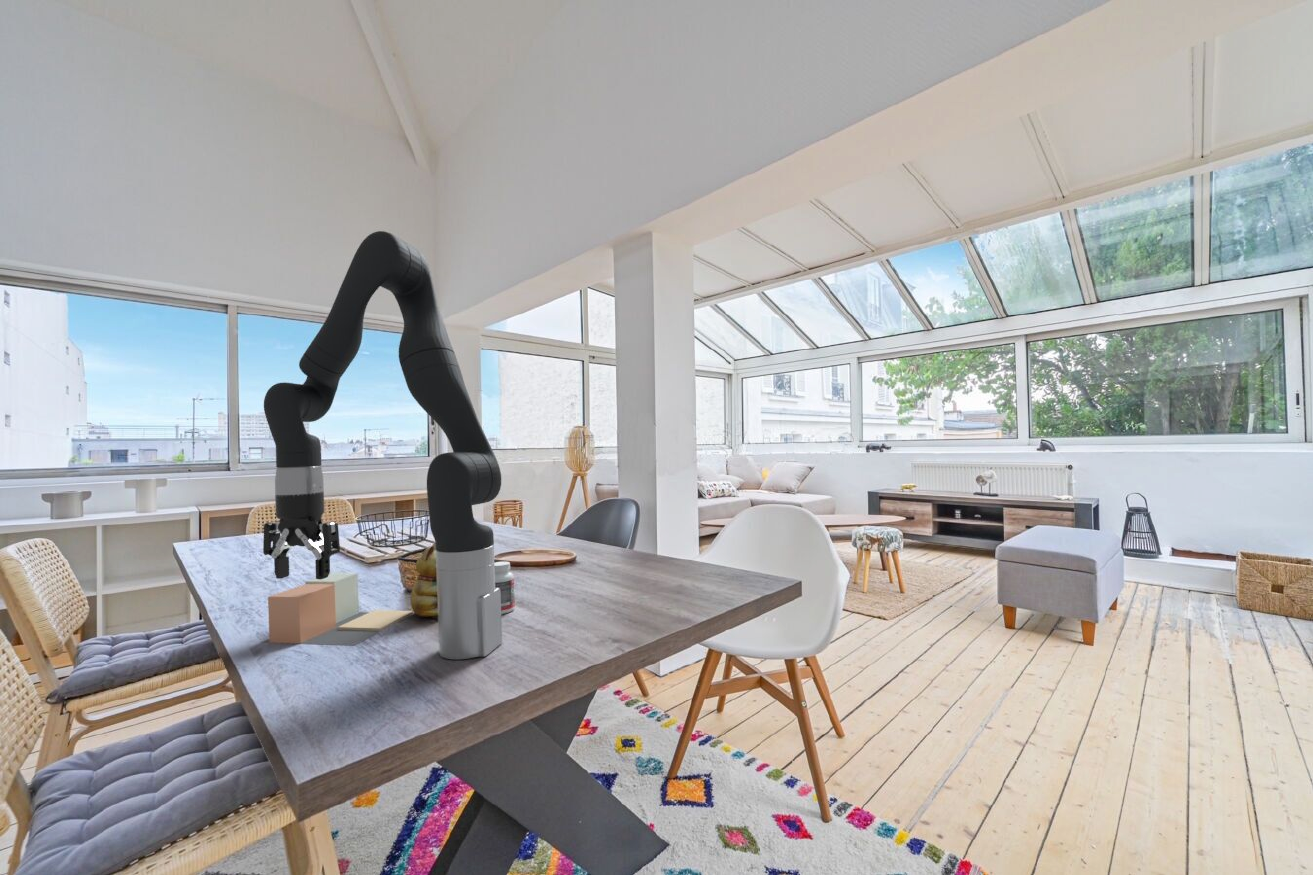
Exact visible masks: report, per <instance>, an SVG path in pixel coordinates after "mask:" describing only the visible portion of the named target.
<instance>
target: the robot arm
mask: <svg viewBox="0 0 1313 875" xmlns="http://www.w3.org/2000/svg"><path fill="white" fill-rule="evenodd" d="M380 287H381V288H383V289H386V290H387V291H389V292H391V293H392V295H393V296H394V298H395V300H396V302H397V304H398V307H399V310H400V313H401V315H402V319H403V320H402V321H403V331H402V333H401V338H400V341H399V344H398V360H399V364H400V368H401V370H402V375H403V377H404V380H405V384H406V386H407V388H408V392H409V393H410V394H411V396H412V398H414V400H415V401H416V403H417V404H418V405H419V406H420V407H421V408H422V409H423V411H425V412H426V414H428V416H429V417H430V418H431V419H432V420H433V421H434V422H435V423H436V424H437V425H438V426H439V427H440V429H441V430H442V431H443V433H444V434H445V436H446V438H447V440H448V442H449V444H450V446H451V449H452V452H443V453H440V454H438V455H436V456H435V457H433V459H432V460H431V462H430V464H429V466H428V470H427V474H426V495H427V504H428V505H427V507H428V517H429V527H430V530H431V534H432V536H433V538H434V542H435V543H434V544H436V567H437V568H436V571H437V599H438V619H437V620H438V623H437V625H438V626H437V627H438V644H439V646H438V648H439V655H440V657H442V658H444V659H449V660H466V659H473V658H478V657H487V656H488V655H489V654H490V653H492V652H493V651H494V650H495V649H497V647H499V646H500V645H501V644H503V629H502V628H503V625H502V623H503V622H502V614H501V593H500V588H495V565H494V563H495V545H494V544H495V543H494V542H495V541H494V540H495V538H494V531H493V528H492V527H490V526H488V525H485V524H481V523H479V522H477V520H475V517H474V513H473V506H476V505H482V504H486V503H490V502H492V501H493V500H494V499H496V498H497V497H498V495H499V494H500V491H501V487H502V473H501V472H502V471H501V468H500V465H499V462H498V460H497V457H496V455H495V452H494V451H493V448H492V447H491V444H490V442H489V440H488V439H487V436H486V434H485V431H484V430H483V427H482V425H481V424H480V421H479V418H478V417H477V413H476V411H475V408H474V405H473V403H472V400H471V397H470V394H469V393H468V389H467V387H466V384H465V381H464V378H463V374H462V371H461V367H460V365H459V362H458V359H457V357H456V354H455V351H454V348H453V346H452V343H451V340H450V338H449V335H448V332H447V329H446V326H445V322H444V319H443V317H442V315H441V314H442V313H441V311H440V307H439V304H438V301H437V300H438V299H437V296H436V292H435V286H434V282H433V277H432V274H431V270H430V266H429V264H428V261H427V259H426V258H425V256H424V255H423V254H422V253H421V252H420V251H419V249H417V248H415V247H414V246H412V245H411V244H409V243H407V242H406V241H404V240H402V239H401V238H399V237H397V236H396V235H394V234H392V233H391V232H388V231H384V230H383V231H382V230H380V231H379V230H377V231H374V232H372V233H370V234H368V235H367V236H366V237H365V238H364V239H363V240H362V241H361V243H360V245H359V246H358V247H357V250H356V252H355V254H354V256H353V257H352V259H351V262H350V265H349V266H348V269H347V271H346V273H345V276H344V278H343V280H342V283H341V285H340V287H339V290H338V292H337V295H336V297H335V299H334V301H333V303H332V306H331V309H330V311H329V313H328V315H327V316H326V319H325V321H324V322H323V324H322V326H321V328H320V329H319V331H318V332H317V334H316V335H315V336H314V338H313V340H312V341H311V342H310V344H309V346H308V347H307V348H306V350H305V352H304V353H303V354H302V356H301V358H300V360H299V362H298V367H299V369H300V371H301V372H302V374H304V375H305V376H306V379H305V381H304V382H303V383H302V384H300V383H293V382H277V383H275V384H274V385H272V386H270V387H269V389H268V390H267V392H266V393H265V395H264V399H263V411H264V415H265V419H266V422H267V425H268V428H269V431H270V434H271V436H272V439H273V442H274V445H275V465H276V466H275V467H276V468H275V476H274V494H275V495H274V496H275V497H274V498H275V501H274V502H275V517H276V518H277V519H279V521H276V520H275V521H270V522H266V523H264V524H263V542H262V543H263V544H262V545H263V548H262V552H263V554H264V556H267V555H268V556H270V557H271V558H272V559H273V561H274V562H273V564H274V565H273V566H274V576H275V577H276V579H285V578H288V577H289V575H290V556H288V555H289V553H290V552H291V550H292V549H293V547H296V546H298V547H306V549H307V550H308V551H310V552H312V554H313V555H314V557H315V558H316V559H315V562H314V563H315V578H316V579H324V578H327V577H328V575H329V574H330V572H331V561H330V560H331V557H332V556H334V555H336V554H339V553H340V551H341V546H340V534H339V532H340V531H339V523H338V522H337V521H330V522H323V520H322V517H323V514H324V513H325V491H324V490H325V488H324V487H325V486H324V484H325V483H324V475H323V474H324V473H323V469H322V446H321V444H322V443H321V440H320V438H319V437H317V436H315V435H313V434H310V433H308V431H307V430H306V427H305V424H304V423H311V422H312V423H313V422H317V421H318V420H320V419H322V418H323V417H324V416H325V415H326V414H327V413H328V412H329V410H330V409H331V407H332V405H333V402H334V399H335V396H336V393H337V391H338V388H339V383H340V380H341V378H342V376H343V375H344V374H345V372H346V371H347V369H348V368H349V366H350V365H351V363H353V361H354V359H355V358H356V356H357V354H358V352H359V350H360V347H361V345H362V339H363V332H364V318H365V317H364V316H365V313H366V309H367V306H368V304H369V302H370V300H371V298H372V297H373V295H374V294H375V293H376V291H378V289H379V288H380Z"/></svg>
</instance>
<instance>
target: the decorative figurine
mask: <svg viewBox="0 0 1313 875" xmlns="http://www.w3.org/2000/svg"><path fill="white" fill-rule="evenodd" d="M436 568H437V567H436V544H435V543H434V544H433V545H430V546H428V547H426V548H425V549H423V551H422V554H421V555H420V556H419V557H418V558H417V560H416V562H415V569H416V572H417V573H418V575H417V581H416V582H415V584H414V585H413V586H412V587H413V588H412V589H411V594H410V605H411V609H412V611H414V613H415V614H414V615H417V616H420V618H432V619H433V620H438V599H437V571H436Z"/></svg>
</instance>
